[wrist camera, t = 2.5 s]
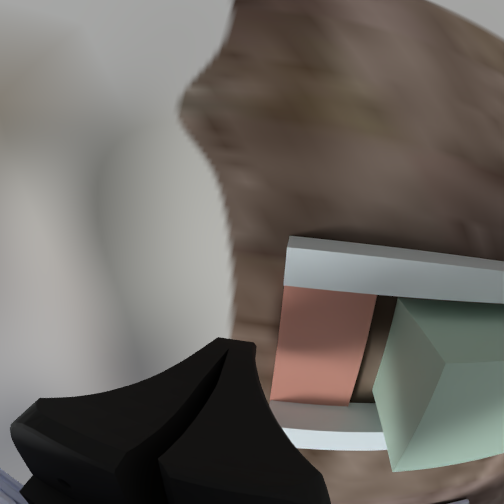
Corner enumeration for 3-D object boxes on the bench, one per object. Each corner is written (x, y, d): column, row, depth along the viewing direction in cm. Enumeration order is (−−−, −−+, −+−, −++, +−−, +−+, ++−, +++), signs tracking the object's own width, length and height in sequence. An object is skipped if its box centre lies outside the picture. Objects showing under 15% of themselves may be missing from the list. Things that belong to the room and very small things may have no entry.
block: (489, 384, 11) (531, 444, 7) (371, 388, 12) (392, 472, 7) (519, 304, 10) (581, 351, 6) (397, 296, 11) (445, 363, 6)
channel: (506, 409, 11) (519, 429, 9) (268, 414, 13) (262, 444, 11) (559, 269, 9) (582, 281, 7) (289, 235, 11) (287, 246, 9)
